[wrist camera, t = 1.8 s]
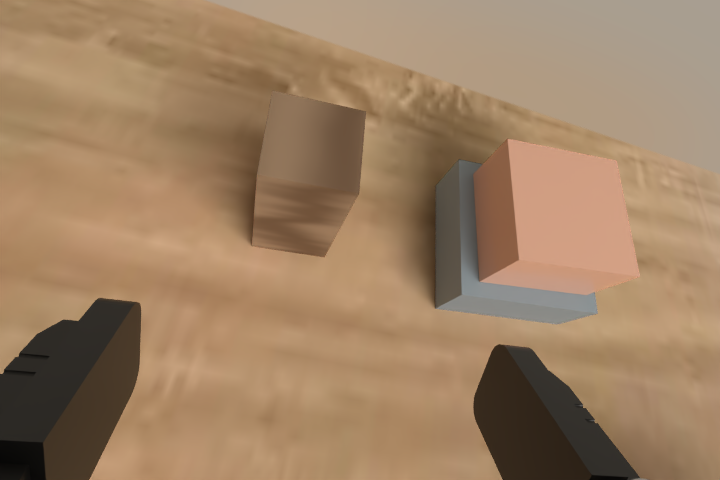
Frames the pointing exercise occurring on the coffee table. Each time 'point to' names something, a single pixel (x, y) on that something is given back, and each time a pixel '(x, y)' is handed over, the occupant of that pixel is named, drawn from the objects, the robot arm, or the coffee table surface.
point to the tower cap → (552, 220)
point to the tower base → (462, 270)
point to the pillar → (306, 174)
